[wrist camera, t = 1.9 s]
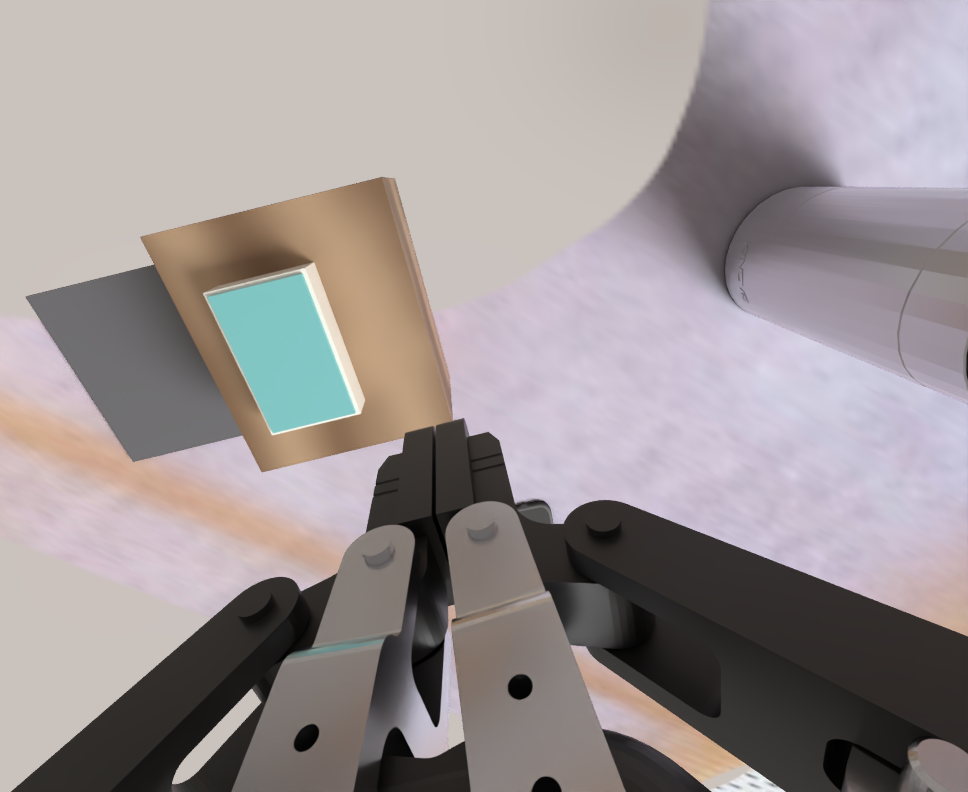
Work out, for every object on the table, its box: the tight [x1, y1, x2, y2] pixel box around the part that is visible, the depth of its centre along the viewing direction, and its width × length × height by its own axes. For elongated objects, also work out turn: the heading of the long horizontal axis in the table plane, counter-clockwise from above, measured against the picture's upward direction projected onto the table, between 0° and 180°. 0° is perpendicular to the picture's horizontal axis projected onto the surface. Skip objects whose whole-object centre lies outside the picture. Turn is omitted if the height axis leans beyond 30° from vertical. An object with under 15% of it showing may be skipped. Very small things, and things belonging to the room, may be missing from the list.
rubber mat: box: [26, 265, 242, 462], centre depth 33 cm, size 13×13×1 cm
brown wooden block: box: [141, 177, 453, 472], centre depth 29 cm, size 12×14×8 cm
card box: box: [203, 262, 365, 435], centre depth 25 cm, size 5×8×2 cm, turn 12°
